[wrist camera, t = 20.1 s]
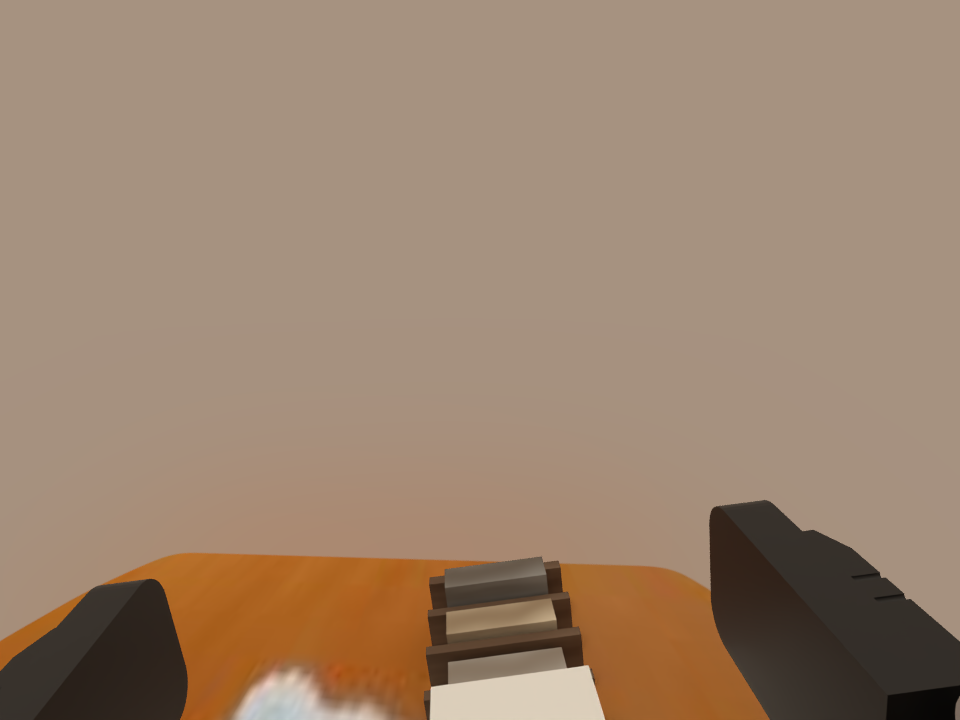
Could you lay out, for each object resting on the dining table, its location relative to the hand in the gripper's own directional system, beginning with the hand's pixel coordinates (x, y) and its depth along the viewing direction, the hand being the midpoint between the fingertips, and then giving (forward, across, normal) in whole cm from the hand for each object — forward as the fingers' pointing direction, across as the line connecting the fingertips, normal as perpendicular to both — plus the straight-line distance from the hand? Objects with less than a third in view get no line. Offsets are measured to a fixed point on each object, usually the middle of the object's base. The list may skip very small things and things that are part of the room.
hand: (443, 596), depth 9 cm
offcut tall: (+36, -1, +29) cm, 46 cm away
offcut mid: (+32, -1, +29) cm, 43 cm away
